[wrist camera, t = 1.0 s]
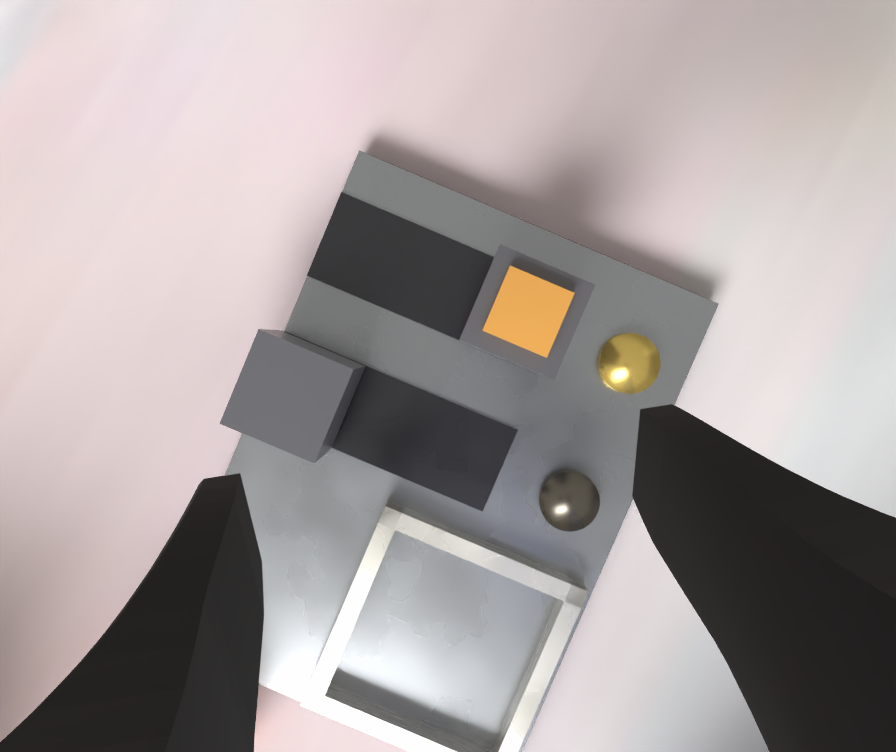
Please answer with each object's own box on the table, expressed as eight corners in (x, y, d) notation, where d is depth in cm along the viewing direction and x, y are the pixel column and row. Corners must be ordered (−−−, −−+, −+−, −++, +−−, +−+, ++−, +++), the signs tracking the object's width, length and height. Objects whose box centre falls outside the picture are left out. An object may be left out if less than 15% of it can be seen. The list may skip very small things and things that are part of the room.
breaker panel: (709, 305, 26) (729, 302, 24) (504, 773, 27) (507, 805, 25) (362, 156, 26) (355, 142, 24) (166, 631, 27) (144, 652, 25)
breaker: (365, 366, 25) (353, 369, 22) (330, 449, 25) (313, 463, 22) (281, 330, 25) (258, 328, 22) (247, 413, 25) (219, 423, 22)
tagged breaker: (578, 291, 25) (598, 283, 22) (542, 375, 25) (556, 380, 22) (494, 255, 25) (500, 242, 22) (458, 340, 25) (459, 339, 22)
